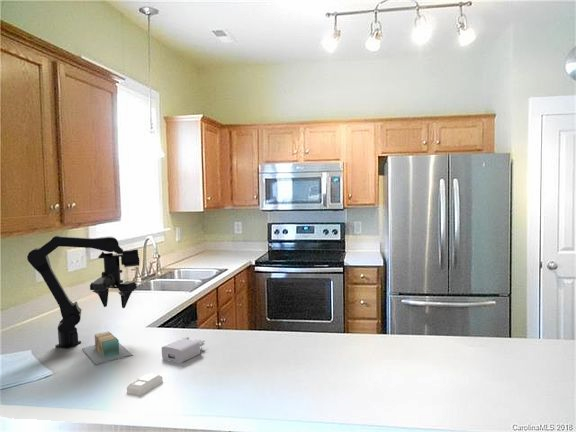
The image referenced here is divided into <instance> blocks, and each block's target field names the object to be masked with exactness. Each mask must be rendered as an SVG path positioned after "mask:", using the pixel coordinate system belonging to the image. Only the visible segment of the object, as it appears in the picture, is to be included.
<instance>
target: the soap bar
mask: <svg viewBox="0 0 576 432" xmlns="http://www.w3.org/2000/svg"><path fill="white" fill-rule="evenodd" d="M163 379H164V378H163V376H162V375H159V374H156V373H149V372H148V373H146V374H145V375H144V376H141V377H139V378H138V379H136V380H134V381H133V382H130V384H129V385H128V386H127V387H126V393H128V394H132V395H137V396H142V395H143V394H145V393H147V392H148V391H150V390H151V389H153V388H155V387H156V386H158V385H159V384H161V383H162V382H164V381H163Z"/></svg>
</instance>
